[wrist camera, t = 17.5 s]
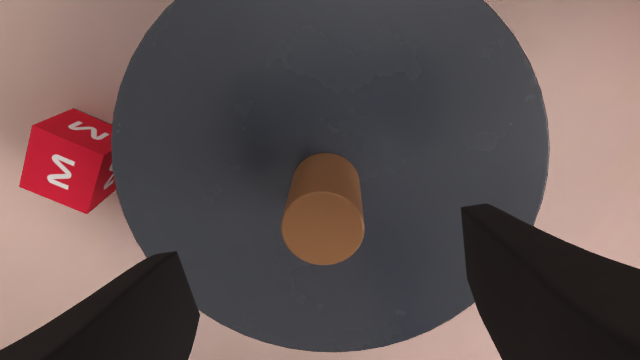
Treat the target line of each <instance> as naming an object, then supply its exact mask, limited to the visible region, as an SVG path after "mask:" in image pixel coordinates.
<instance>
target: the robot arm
mask: <svg viewBox="0 0 640 360" xmlns="http://www.w3.org/2000/svg"><path fill="white" fill-rule="evenodd" d="M461 217H462V228H463V240H464V251H465V263H466V274H467V280H468V283H469V286H470V289H471V292H472V295H473V298H474V301H475V303H476V306H477V309H478V312H479V314H480V316H481V318H482V320H483V322H484V324H485V326H486V328H487V330H488V332H489V334H490V336H491V338H492V340H493V342H494V344H495V346H496V348H497V350H498V352H499V354H500V356H501V358H502V360H640V269H638V268H635V267H632V266H629V265H626V264H623V263H620V262H617V261H614V260H611V259H608V258H605V257H602V256H600V255H597V254H594V253H592V252H589V251H587V250H584V249H582V248H580V247H577V246H575V245H573V244H570V243H568V242H565V241H563V240H561V239H559V238H557V237H554V236H552V235H550V234H548V233H546V232H544V231H542V230H540V229H538V228H536V227H534V226H532V225H530V224H528V223H526V222H524V221H522V220H520V219H518V218H516V217H514V216H512V215H510V214H508V213H506V212H504V211H502V210H500V209H498V208H496V207H494V206H492V205H490V204H487V203H485V204H478V205H472V206H465V207H461ZM199 317H200V314H199V311H198V308H197V305H196V303H195V300H194V297H193V294H192V291H191V289H190V286H189V283H188V280H187V278H186V275H185V272H184V269H183V267H182V264H181V261H180V258H179V256H178V253H177V251H173V252H166V253H160V254H154V255H152V256H150V257H148V258H146V259H145V260H143V261H141V262H140V263H138V264H136V265H135V266H133V267H132V268H130V269H129V270H127V271H126V272H124V273H123V274H121V275H120V276H118V277H117V278H115V279H114V280H112V281H111V282H109V283H108V284H106V285H105V286H103V287H102V288H100V289H99V290H98V291H96V292H95V293H93V294H92V295H90V296H89V297H87V298H86V299H84V300H83V301H81V302H80V303H78V304H77V305H75V306H73V307H72V308H70V309H69V310H67V311H66V312H64V313H63V314H61V315H59V316H58V317H56V318H55V319H53V320H52V321H50V322H49V323H47V324H45V325H44V326H42V327H40V328H39V329H37V330H35V331H34V332H32V333H30V334H29V335H27V336H25V337H23V338H22V339H20V340H18V341H16V342H14V343H13V344H11V345H9V346H7V347H5V348H4V349H2V350H0V360H188V358H189V355H190V353H191V350H192V346H193V342H194V339H195V335H196V331H197V326H198V322H199Z"/></svg>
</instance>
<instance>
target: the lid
mask: <svg viewBox="0 0 640 360" xmlns="http://www.w3.org/2000/svg"><path fill="white" fill-rule="evenodd" d="M549 148H550V146H549V133H548V120H547V115H546V110H545V106H544V102H543V97H542V93H541V89H540V87H539V84H538V82H537V79H536V77H535V74H534V71H533V69H532V66H531V64H530V62H529V60H528V58H527V56H526V55H525V53H524V51H523V50H522V48H521V46H520V44H519V43H518V41H517V39H516V37H515V36H514V34H513V33H512V32H511V31H510V29H509V28H508V27H507V26H506V24H505V23H504V22H503V21H502V20H501V18H500V17H499V16H498V15H497V13H496V12H495V11H494V10H493V9H492V8H491V7H490V6H489V5H488V4H487V3H485V2H484V1H483V0H175V1H174V2H173V3H172V4H170V5H169V6H168V7H167V8H166V9H165V10H164V11H163V13H162V14H161V15H160V16H159V18H158V19H157V20H156V21H155V23H154V24H153V25H152V26H151V28H150V29H149V30H148V31H147V33H146V34H145V36H144V37H143V39H142V41H141V42H140V44H139V46H138V48H137V49H136V51H135V53H134V54H133V56H132V58H131V60H130V62H129V65H128V67H127V70H126V72H125V75H124V77H123V80H122V82H121V85H120V89H119V93H118V97H117V101H116V105H115V109H114V114H113V125H112V136H111V150H112V168H113V174H114V179H115V184H116V190H117V194H118V197H119V200H120V203H121V206H122V210H123V213H124V216H125V218H126V220H127V222H128V225H129V227H130V229H131V231H132V233H133V235H134V237H135V239H136V241H137V243H138V244H139V246H140V247H141V249H142V251H143V252H144V254H145V255H146V257H147V258H148V257H150V256H152V255H154V254H160V253H166V252H173V251H177V253H178V256H179V258H180V261H181V264H182V267H183V269H184V272H185V275H186V278H187V280H188V283H189V286H190V289H191V291H192V294H193V297H194V300H195V303H196V305H197V308H198V310H199V311H201V312H202V313H204V314H206V315H207V316H209V317H210V318H212V319H214V320H215V321H217V322H219V323H220V324H222V325H224V326H226V327H228V328H230V329H232V330H234V331H237V332H239V333H241V334H243V335H246V336H248V337H251V338H254V339H257V340H260V341H262V342H265V343H269V344H273V345H278V346H282V347H286V348H291V349H298V350H305V351H314V352H347V351H361V350H366V349H372V348H378V347H384V346H387V345H391V344H394V343H398V342H401V341H405V340H408V339H410V338H413V337H415V336H418V335H420V334H423V333H425V332H428V331H430V330H432V329H434V328H436V327H437V326H439V325H441V324H443V323H445V322H447V321H449V320H451V319H452V318H454V317H455V316H456V315H458V314H459V313H461V312H462V311H464V310H465V309H467V308H468V307H469V306H471V305H472V304H473V303H474V302H475V301H474V298H473V295H472V292H471V289H470V286H469V283H468V280H467V274H466V263H465V251H464V240H463V228H462V217H461V207H465V206H472V205H478V204H485V203H487V204H490V205H492V206H494V207H496V208H498V209H500V210H502V211H504V212H506V213H508V214H510V215H512V216H514V217H516V218H518V219H520V220H522V221H524V222H526V223H528V224H530V225H532V226H533V225H534V223H535V220H536V217H537V214H538V211H539V209H540V206H541V203H542V200H543V195H544V190H545V185H546V181H547V176H548V164H549Z"/></svg>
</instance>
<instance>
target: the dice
mask: <svg viewBox="0 0 640 360" xmlns="http://www.w3.org/2000/svg"><path fill="white" fill-rule="evenodd" d="M111 136H112V125H110V124H108V123H106V122H103V121H101V120H99V119H97V118H94V117H92V116H90V115H87V114H85V113H83V112H80V111H78V110H76V109H71V110H68V111H66V112H63V113H61V114H59V115H56V116H54V117H51V118H49V119H47V120H44V121H42V122H39V123H37V124H35V125H32V129H31V133H30V138H29V143H28V147H27V152H26V157H25V162H24V166H23V171H22V176H21V180H20V185H19V187H21V188H24V189H26V190H29V191H31V192H34V193H36V194H38V195H41V196H43V197H46V198H48V199H51V200H53V201H56V202H58V203H61V204H63V205H66V206H68V207H71V208H73V209H76V210H78V211H81V212H83V213H85V214H88V213H89V212H90V211H91V210H93V209H94V208H95V207H96V206H97V205H98V204H100V203H101V202H102V201H103V200H104V199H105V198H107V197H108V196H109V195H110V194H111V193H112V192H114V191H115V190H116V184H115V179H114V174H113V168H112V150H111Z"/></svg>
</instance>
